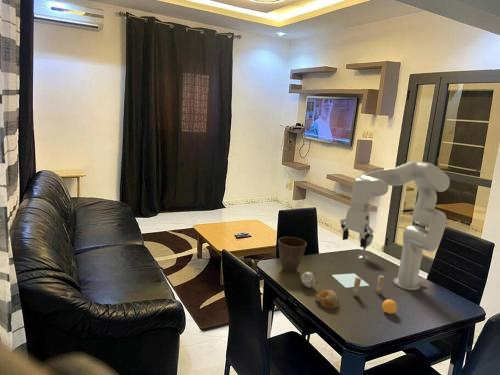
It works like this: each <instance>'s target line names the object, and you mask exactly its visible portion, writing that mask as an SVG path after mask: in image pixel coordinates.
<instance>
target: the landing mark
mask: <svg viewBox="0 0 500 375" xmlns="http://www.w3.org/2000/svg"><path fill="white" fill-rule="evenodd" d="M331 276H332V277H333V278H334V279H335V280H336V281H337V282H338V283H340V285H341V286H342V287H344V288H345V289H349V288H354V282H355V277H359V278H361V277H360V276H359V275H357V274H356V273H343V274H342V273H339V274H331ZM363 287H370V284H369V283H368V282H366V281H365V280H363V279H362V278H361V281H360V288H363Z"/></svg>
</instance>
